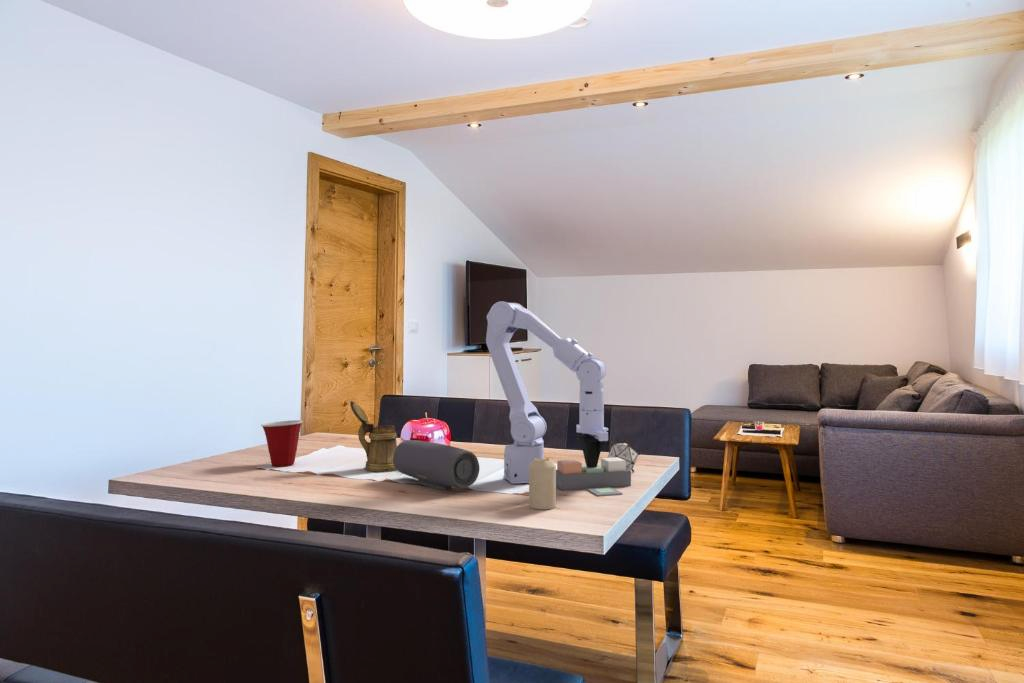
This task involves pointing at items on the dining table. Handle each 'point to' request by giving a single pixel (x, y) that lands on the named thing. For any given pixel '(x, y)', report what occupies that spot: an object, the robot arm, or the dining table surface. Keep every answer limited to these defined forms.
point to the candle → (542, 484)
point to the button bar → (593, 480)
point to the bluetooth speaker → (436, 464)
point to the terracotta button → (569, 467)
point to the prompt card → (604, 491)
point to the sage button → (592, 469)
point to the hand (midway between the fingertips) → (591, 467)
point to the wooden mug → (376, 442)
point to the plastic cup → (282, 441)
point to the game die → (624, 454)
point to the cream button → (613, 464)
